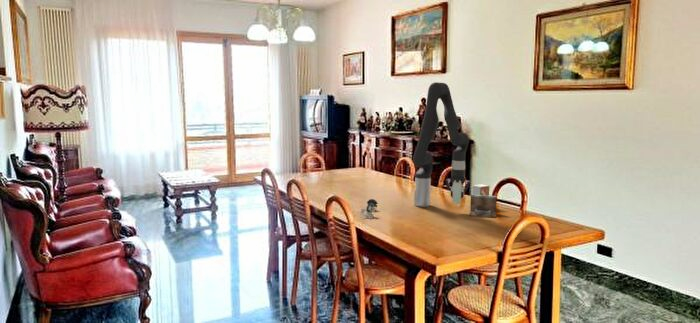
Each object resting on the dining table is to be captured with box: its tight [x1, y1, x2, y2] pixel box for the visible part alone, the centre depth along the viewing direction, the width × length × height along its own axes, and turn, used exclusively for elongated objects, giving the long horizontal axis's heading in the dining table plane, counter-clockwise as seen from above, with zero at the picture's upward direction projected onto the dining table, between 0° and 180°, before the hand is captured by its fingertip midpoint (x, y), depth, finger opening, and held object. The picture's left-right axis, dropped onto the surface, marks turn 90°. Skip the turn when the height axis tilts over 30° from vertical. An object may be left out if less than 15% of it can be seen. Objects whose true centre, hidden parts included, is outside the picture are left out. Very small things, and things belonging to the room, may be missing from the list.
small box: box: [471, 183, 490, 196], centre depth 286 cm, size 8×6×13 cm
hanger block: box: [451, 182, 462, 205], centre depth 270 cm, size 4×6×12 cm
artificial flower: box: [360, 198, 378, 220], centre depth 269 cm, size 9×22×10 cm, turn 165°
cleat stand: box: [468, 194, 497, 218], centre depth 266 cm, size 14×11×10 cm
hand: (457, 197), depth 270 cm, fingers closed on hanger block, 4 cm apart
